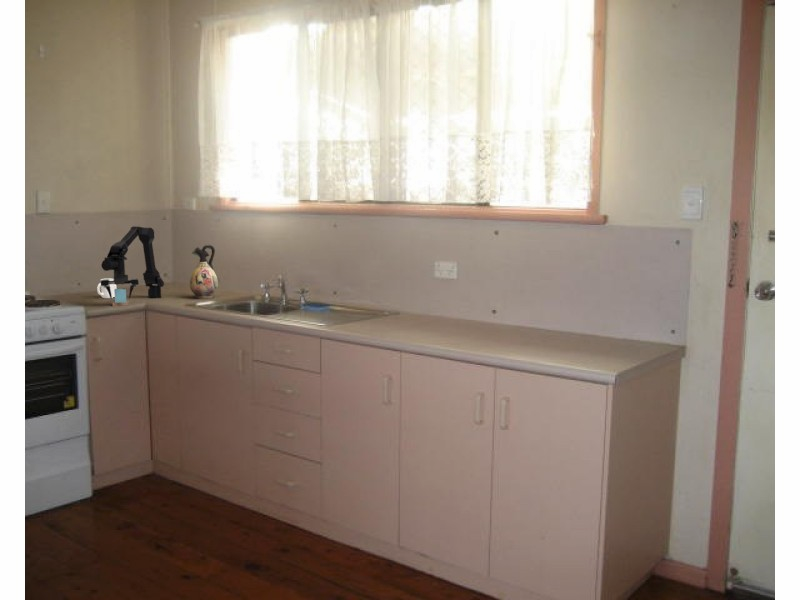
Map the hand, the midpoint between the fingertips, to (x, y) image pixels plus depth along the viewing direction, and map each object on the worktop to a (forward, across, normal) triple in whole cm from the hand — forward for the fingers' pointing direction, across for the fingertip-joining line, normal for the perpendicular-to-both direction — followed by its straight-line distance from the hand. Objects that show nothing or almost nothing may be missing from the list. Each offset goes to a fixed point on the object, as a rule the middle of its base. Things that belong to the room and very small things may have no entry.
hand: (120, 298), depth 421 cm
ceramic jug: (+4, +45, +14) cm, 47 cm away
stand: (+3, 0, 0) cm, 3 cm away
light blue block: (+2, 0, 0) cm, 2 cm away
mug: (+4, -8, +30) cm, 31 cm away
